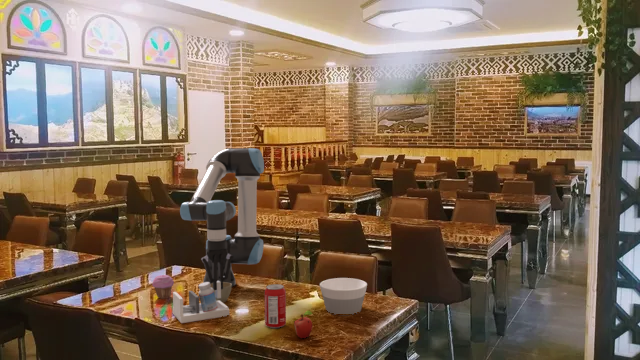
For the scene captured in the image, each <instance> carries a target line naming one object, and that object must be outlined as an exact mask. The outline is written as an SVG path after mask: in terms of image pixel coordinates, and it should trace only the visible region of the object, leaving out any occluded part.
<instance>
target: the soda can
mask: <svg viewBox="0 0 640 360" xmlns="http://www.w3.org/2000/svg"><path fill="white" fill-rule="evenodd" d="M286 292H287V290H286V289H285V286H284V285H283V284H268V285H267V286H266V287H265V289H264V293H263V294H264V325H265V327H268V328H269V327H270V328H269V329H281V328H283V327H284V326H286V324H287V300H286V299H287V293H286ZM280 327H281V328H280Z"/></svg>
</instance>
